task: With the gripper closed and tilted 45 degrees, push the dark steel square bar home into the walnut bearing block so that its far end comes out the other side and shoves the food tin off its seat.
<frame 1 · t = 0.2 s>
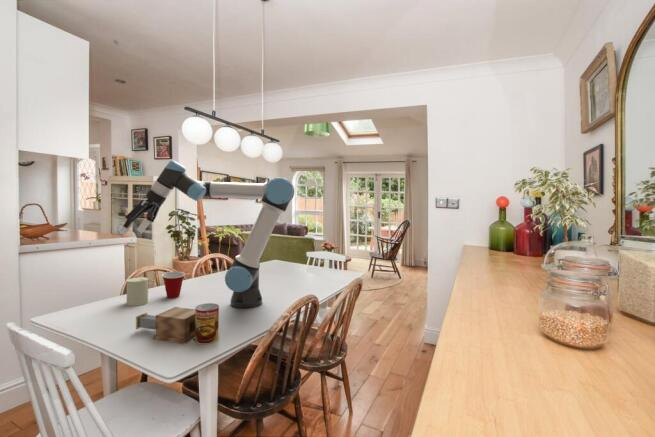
hand: (131, 232, 138), 35 cm above the table, tool tilted 35°, fingers open, 13 cm apart
canned food: (206, 339, 114), on the table
shaft: (163, 323, 118), point 4 cm above the table, slide at 10.0 cm
plastic cup: (173, 297, 164), on the table
can: (137, 303, 153), on the table
bearing block: (179, 335, 117), on the table
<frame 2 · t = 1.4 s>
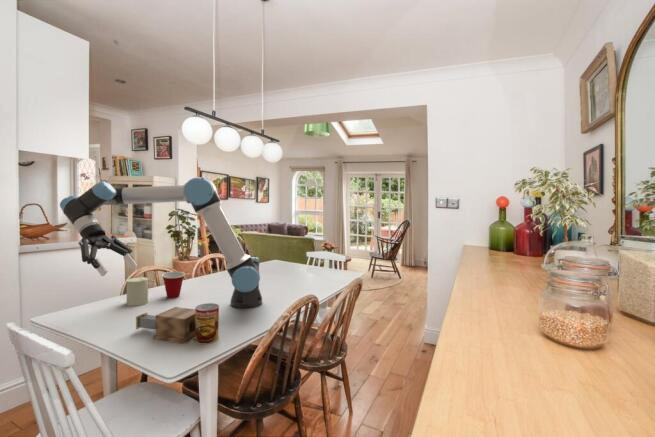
hand: (120, 270, 122), 22 cm above the table, tool tilted 45°, fingers open, 12 cm apart
nothing on the table moved.
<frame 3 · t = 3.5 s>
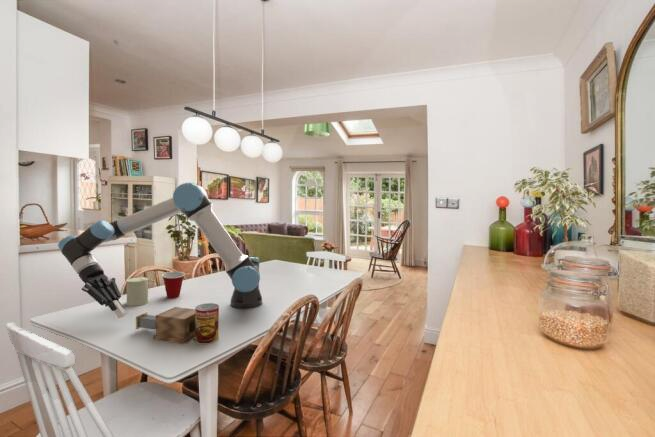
hand: (122, 315, 122), 5 cm above the table, tool tilted 45°, fingers closed
nothing on the table moved.
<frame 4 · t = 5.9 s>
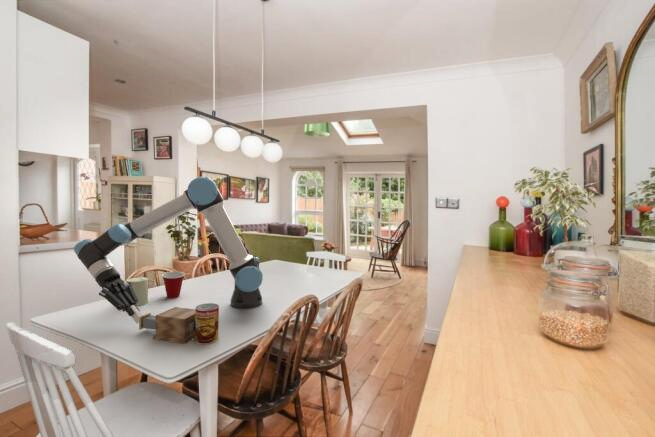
hand: (140, 320, 120), 4 cm above the table, tool tilted 45°, fingers closed
shaft: (167, 324, 118), point 4 cm above the table, slide at 8.5 cm, touching gripper
everything else where it was.
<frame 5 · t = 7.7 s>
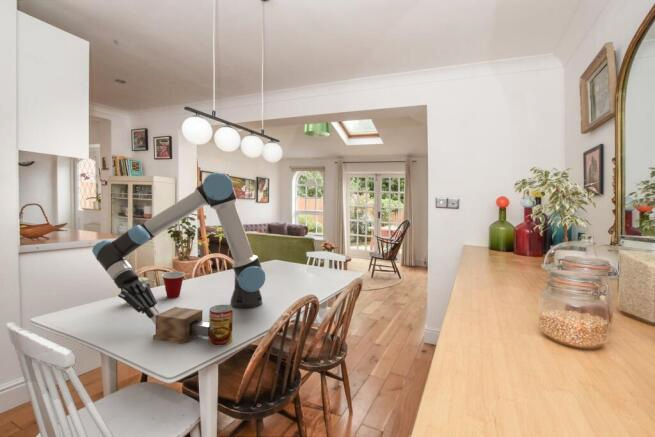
hand: (159, 322, 118), 4 cm above the table, tool tilted 45°, fingers closed
canned food: (220, 341, 113), on the table, touching shaft
shaft: (186, 326, 116), point 4 cm above the table, slide at 0.3 cm, touching canned food, gripper
everything else where it was.
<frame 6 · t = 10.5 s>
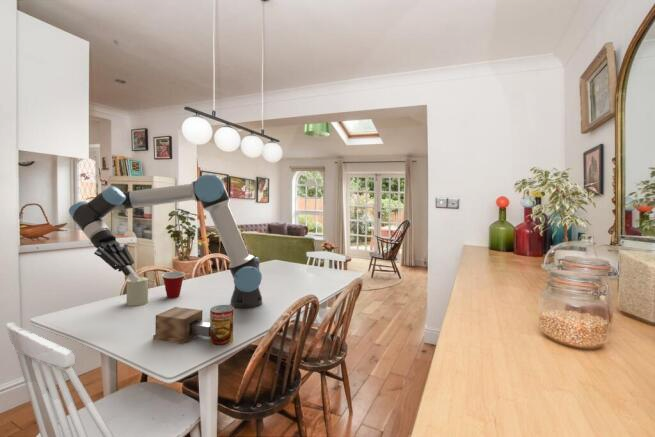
hand: (136, 280, 120), 19 cm above the table, tool tilted 45°, fingers closed
canned food: (221, 342, 113), on the table
shaft: (187, 326, 116), point 4 cm above the table, slide at 0.0 cm
everything else where it was.
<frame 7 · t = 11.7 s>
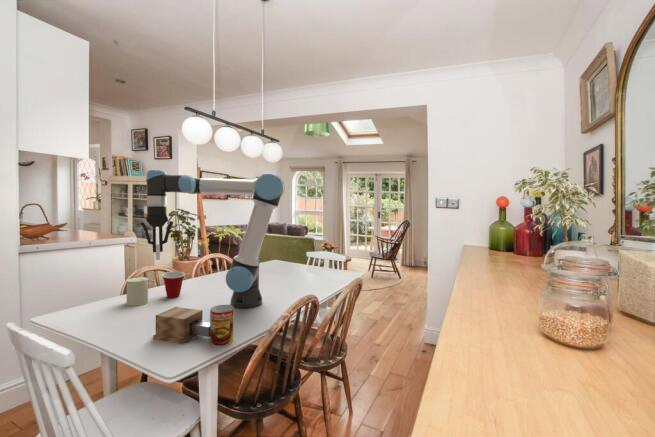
hand: (157, 259, 139), 24 cm above the table, tool pointing down, fingers closed
nothing on the table moved.
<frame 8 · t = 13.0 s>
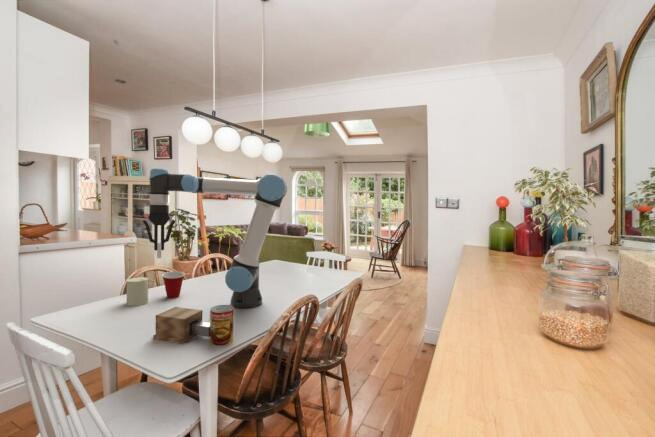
hand: (159, 257, 140), 24 cm above the table, tool pointing down, fingers closed
nothing on the table moved.
at the end: shaft slide at 0.0 cm; canned food moved 6.0 cm from its start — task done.
